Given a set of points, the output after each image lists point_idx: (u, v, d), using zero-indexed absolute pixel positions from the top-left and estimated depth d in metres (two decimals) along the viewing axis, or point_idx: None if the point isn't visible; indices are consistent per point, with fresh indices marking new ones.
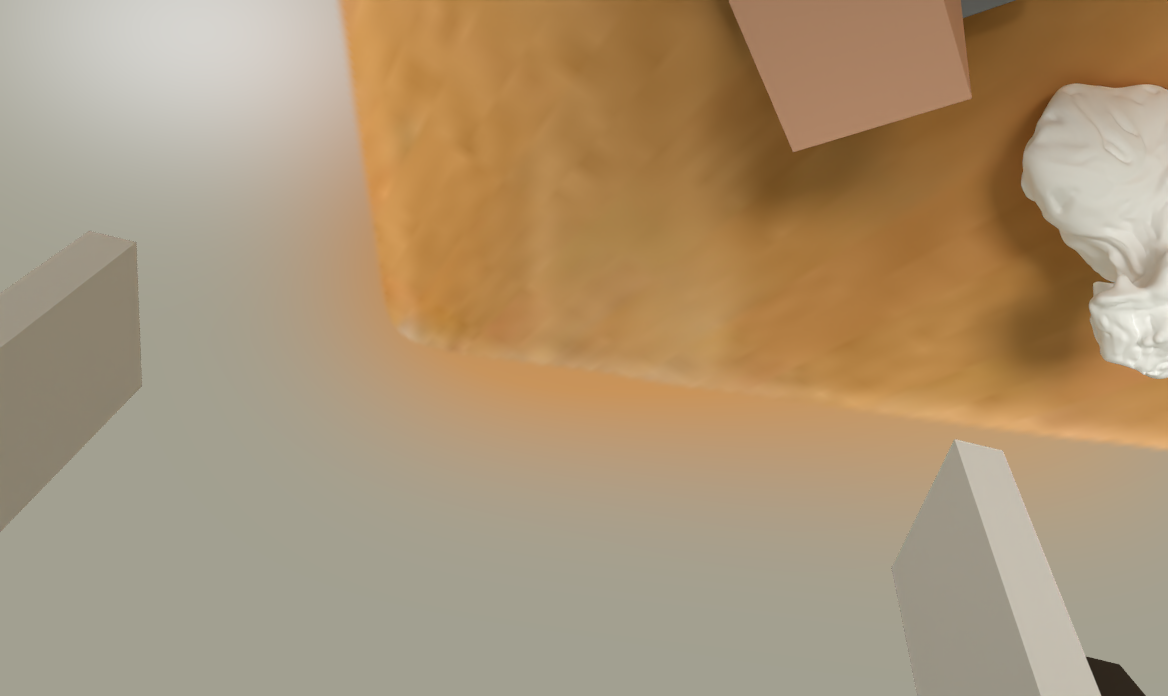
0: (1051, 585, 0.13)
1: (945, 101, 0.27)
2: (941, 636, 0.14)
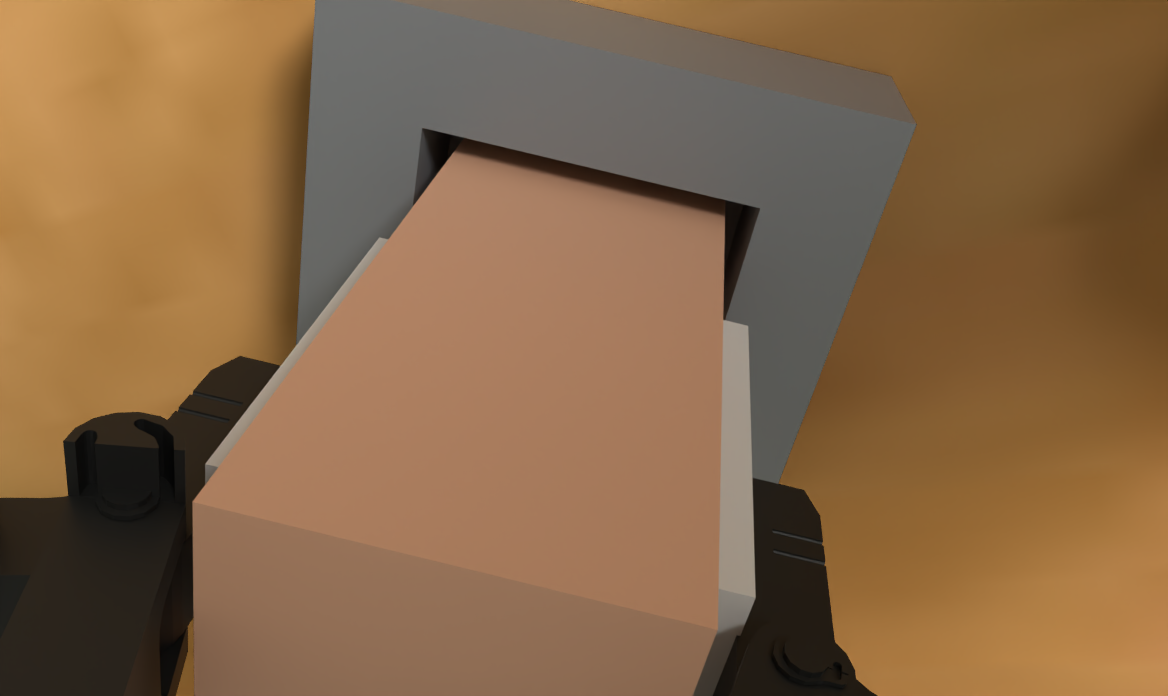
0: (748, 423, 0.14)
1: None
2: None
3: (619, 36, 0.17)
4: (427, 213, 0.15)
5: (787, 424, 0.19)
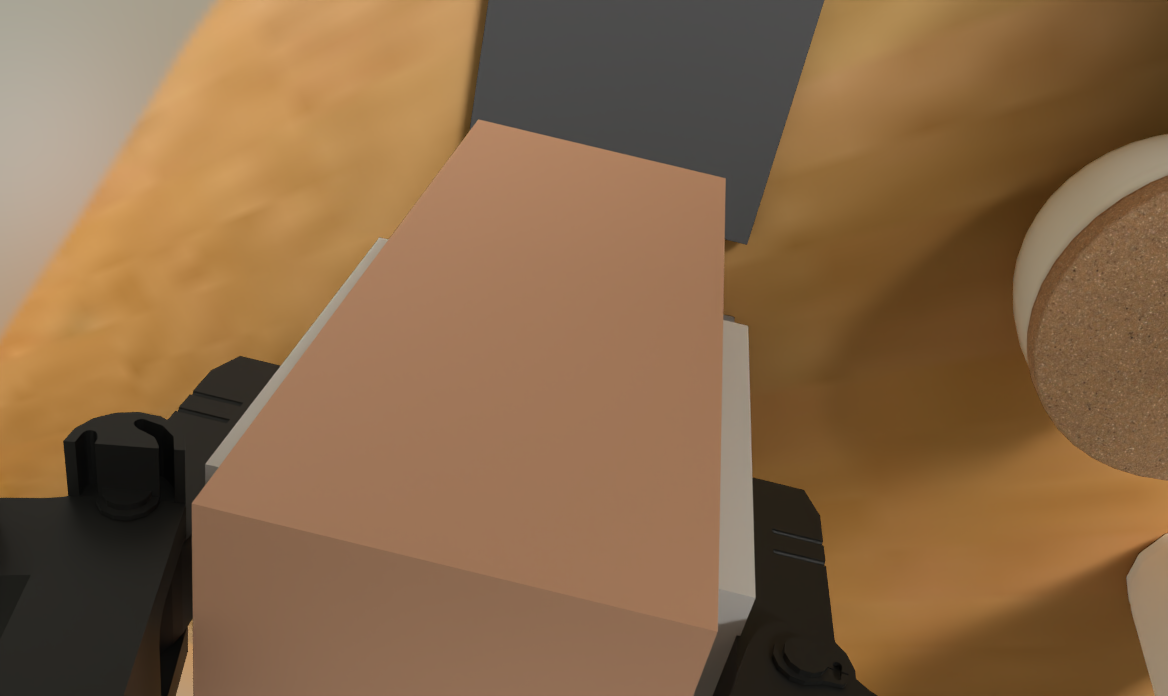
0: (748, 423, 0.14)
1: None
2: None
3: None
4: (426, 214, 0.15)
5: None
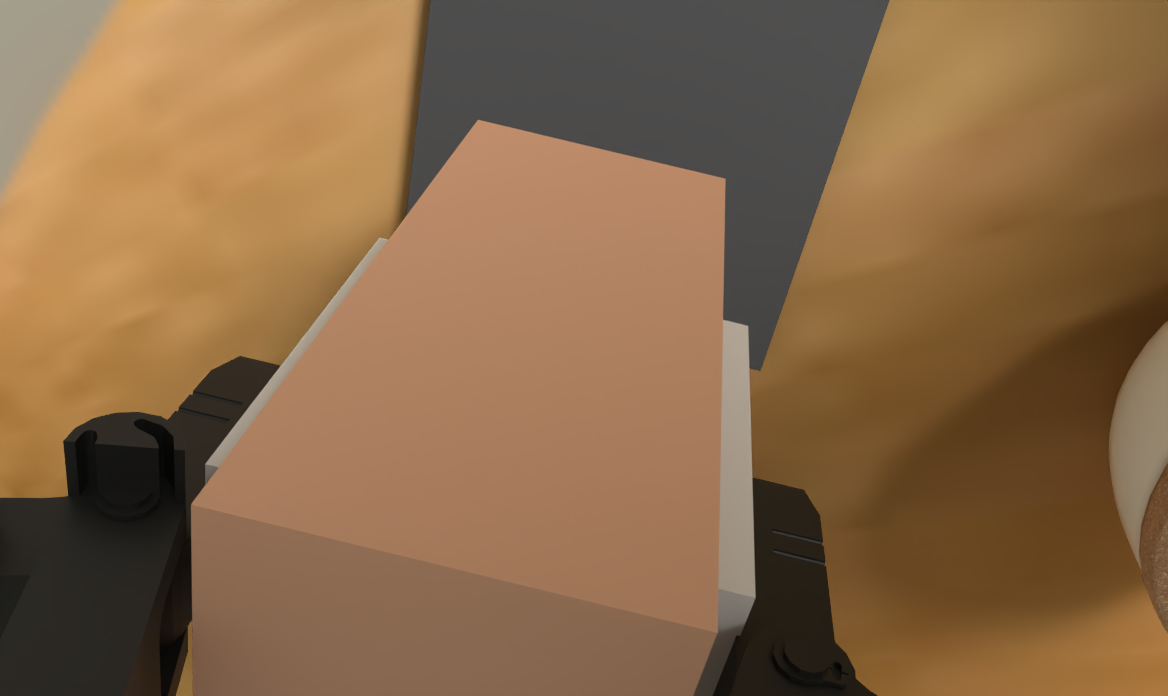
0: (748, 423, 0.14)
1: None
2: None
3: None
4: (426, 214, 0.15)
5: None
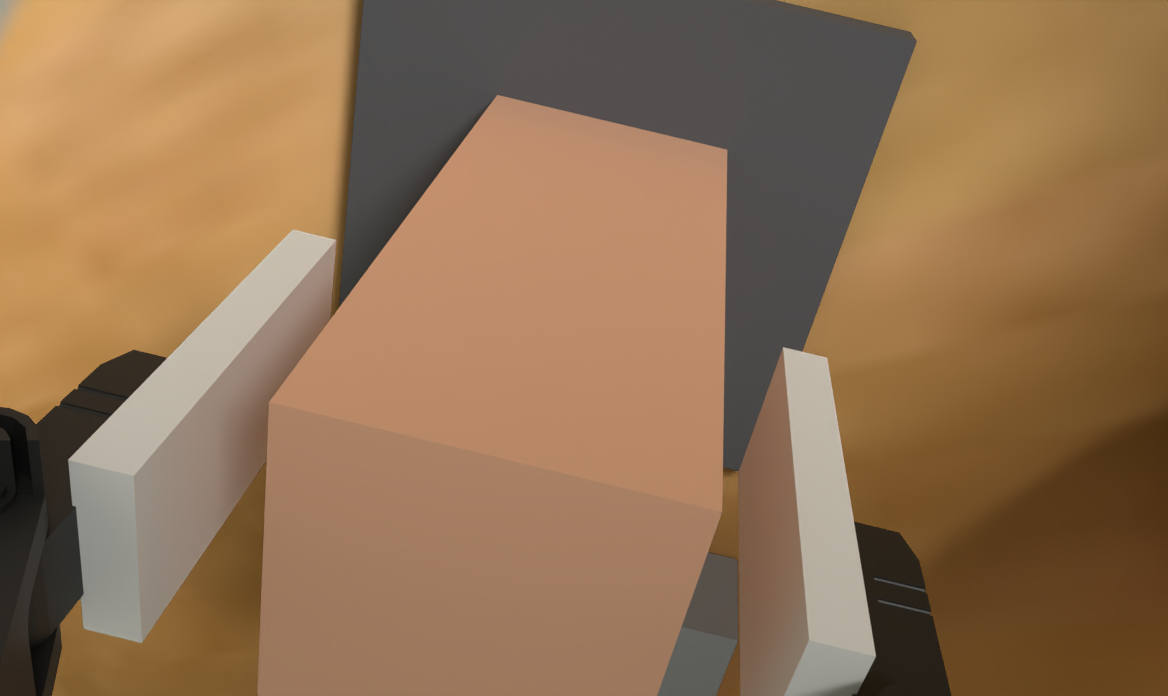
0: (840, 464, 0.14)
1: None
2: (757, 518, 0.15)
3: None
4: (454, 175, 0.17)
5: None
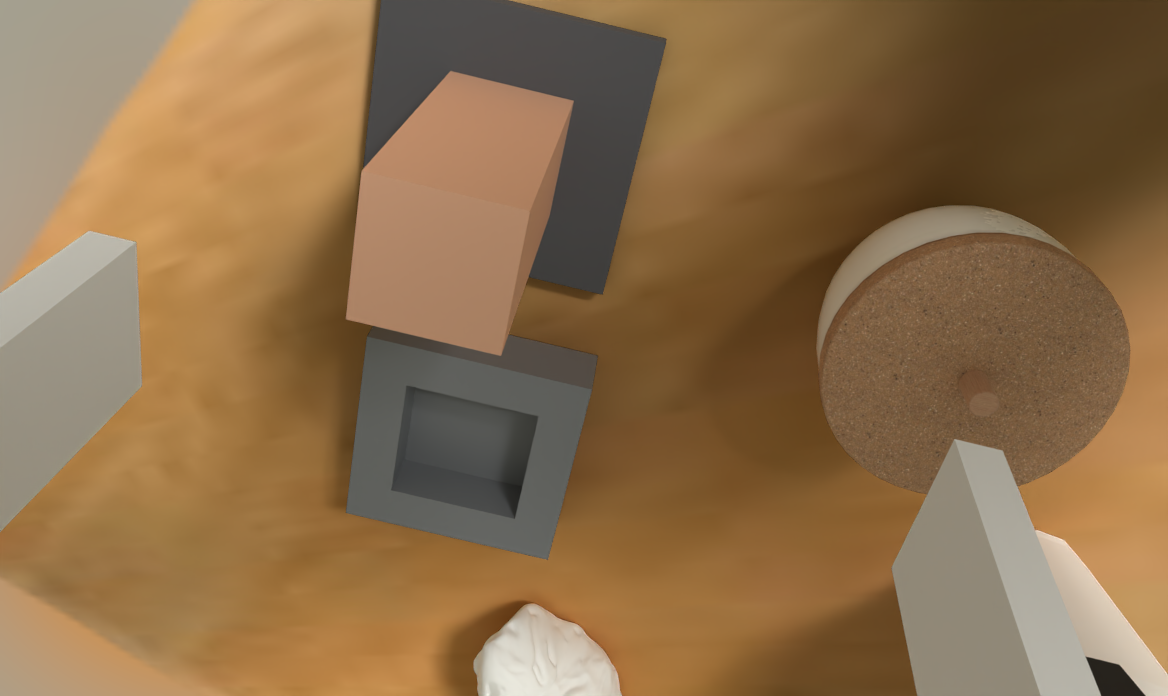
0: (1051, 585, 0.13)
1: (481, 348, 0.31)
2: (941, 636, 0.14)
3: None
4: (428, 105, 0.35)
5: (558, 497, 0.46)
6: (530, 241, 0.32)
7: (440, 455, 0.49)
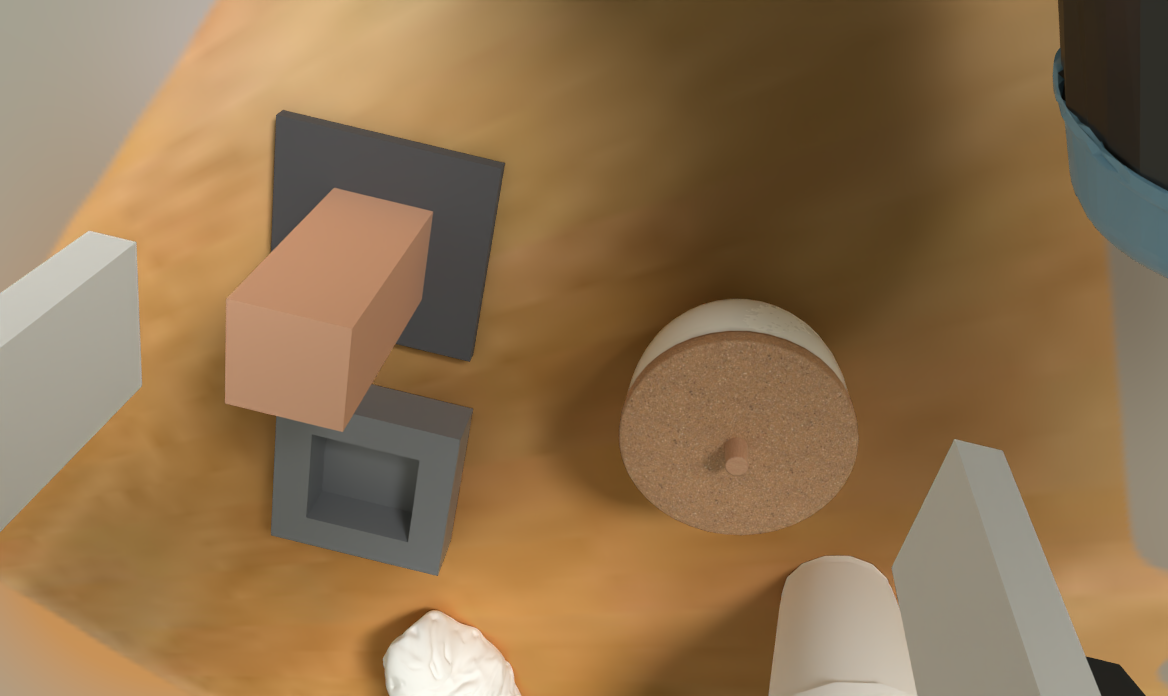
0: (1050, 585, 0.13)
1: (327, 425, 0.41)
2: (941, 636, 0.14)
3: (374, 405, 0.53)
4: (302, 227, 0.44)
5: (441, 525, 0.55)
6: (371, 340, 0.42)
7: (350, 487, 0.58)
